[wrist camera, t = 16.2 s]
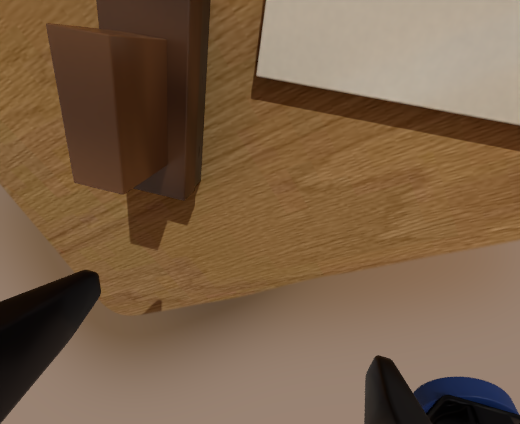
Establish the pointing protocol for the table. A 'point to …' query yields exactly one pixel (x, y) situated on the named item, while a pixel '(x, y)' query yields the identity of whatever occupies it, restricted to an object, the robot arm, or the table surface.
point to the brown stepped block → (135, 95)
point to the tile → (400, 51)
